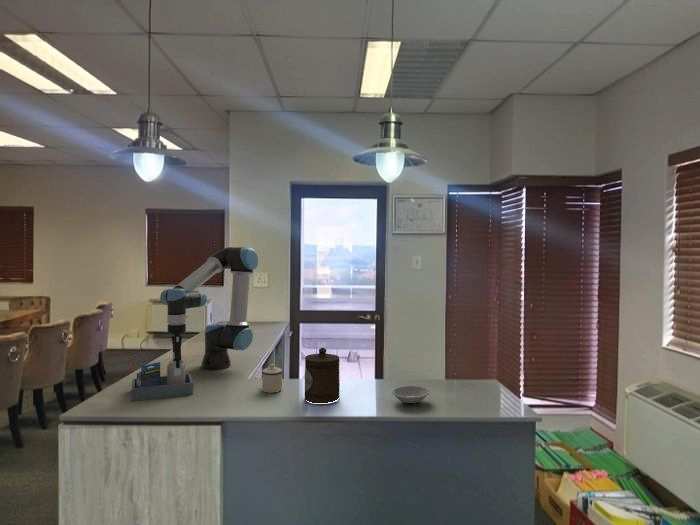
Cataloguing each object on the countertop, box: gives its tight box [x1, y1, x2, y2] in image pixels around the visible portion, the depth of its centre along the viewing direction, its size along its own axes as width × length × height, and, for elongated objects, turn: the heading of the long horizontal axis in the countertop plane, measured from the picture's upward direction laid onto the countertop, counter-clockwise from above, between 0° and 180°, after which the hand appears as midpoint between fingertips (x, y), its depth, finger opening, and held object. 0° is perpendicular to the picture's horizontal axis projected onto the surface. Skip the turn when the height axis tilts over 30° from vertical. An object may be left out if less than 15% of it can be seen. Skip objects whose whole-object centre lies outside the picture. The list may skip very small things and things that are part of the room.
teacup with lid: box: [261, 363, 283, 393], centre depth 197 cm, size 12×9×12 cm
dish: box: [391, 385, 431, 404], centre depth 182 cm, size 18×14×5 cm
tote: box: [130, 373, 194, 402], centre depth 190 cm, size 24×16×5 cm, turn 115°
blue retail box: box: [136, 361, 161, 388], centre depth 188 cm, size 9×4×12 cm, turn 145°
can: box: [166, 359, 186, 385], centre depth 193 cm, size 8×8×12 cm
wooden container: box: [304, 347, 340, 403], centre depth 185 cm, size 15×15×22 cm
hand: (176, 371), depth 193 cm, fingers open, 13 cm apart
